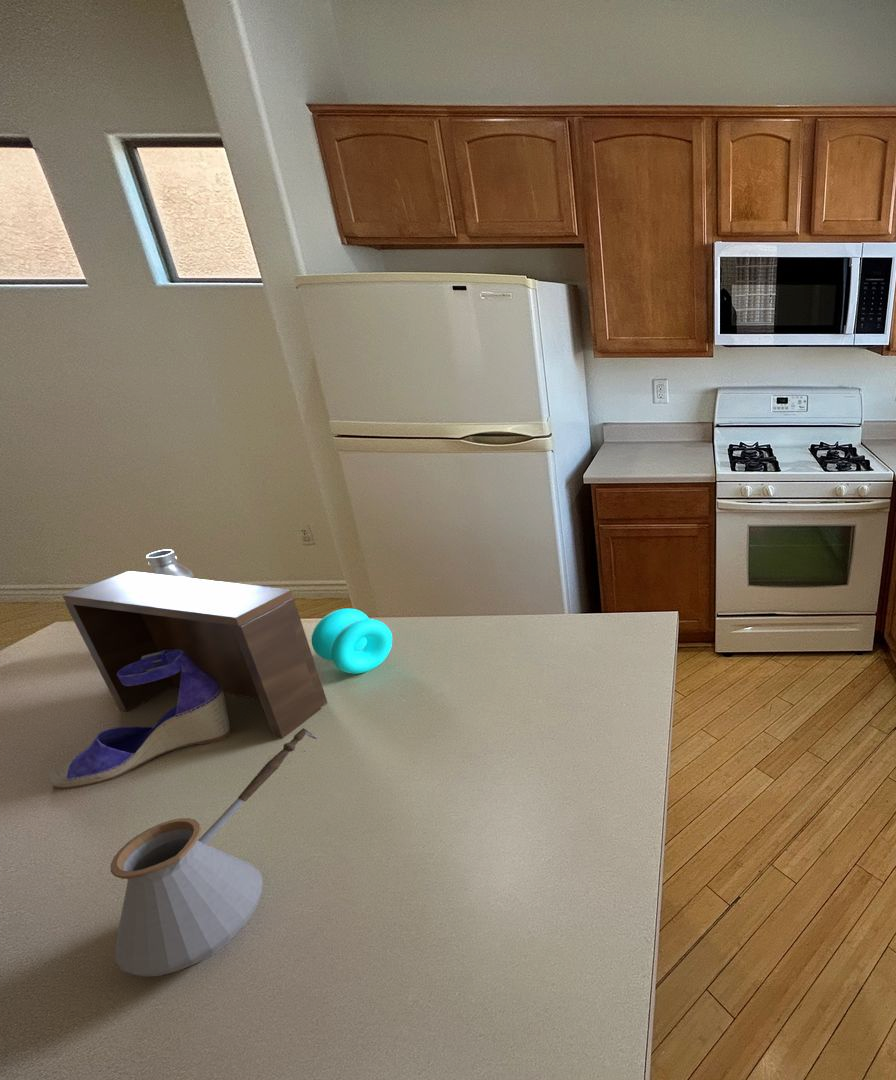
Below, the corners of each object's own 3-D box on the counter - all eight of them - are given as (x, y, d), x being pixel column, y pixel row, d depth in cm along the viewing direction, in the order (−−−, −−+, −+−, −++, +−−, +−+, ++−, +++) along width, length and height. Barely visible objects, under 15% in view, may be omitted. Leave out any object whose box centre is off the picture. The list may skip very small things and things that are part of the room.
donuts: (344, 686, 96) (329, 637, 93) (316, 667, 101) (301, 620, 98) (400, 658, 104) (389, 612, 100) (372, 642, 109) (360, 598, 105)
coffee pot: (170, 1013, 52) (103, 906, 46) (100, 964, 55) (30, 860, 50) (373, 829, 70) (344, 737, 64) (311, 802, 74) (278, 712, 68)
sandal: (76, 755, 81) (28, 670, 75) (243, 720, 88) (211, 640, 83) (40, 796, 74) (-15, 707, 68) (224, 754, 81) (188, 670, 76)
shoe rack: (119, 710, 90) (60, 595, 82) (176, 678, 98) (127, 570, 90) (282, 738, 85) (237, 618, 76) (329, 702, 92) (292, 589, 84)
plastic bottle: (175, 661, 102) (133, 564, 95) (176, 646, 107) (136, 552, 99) (221, 649, 106) (183, 554, 99) (220, 634, 111) (184, 543, 103)
